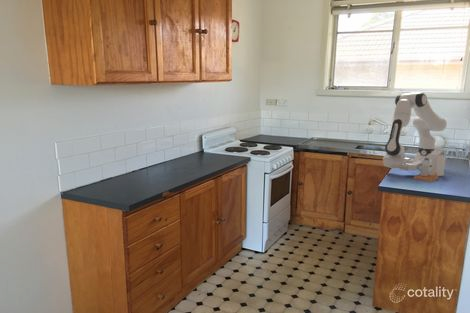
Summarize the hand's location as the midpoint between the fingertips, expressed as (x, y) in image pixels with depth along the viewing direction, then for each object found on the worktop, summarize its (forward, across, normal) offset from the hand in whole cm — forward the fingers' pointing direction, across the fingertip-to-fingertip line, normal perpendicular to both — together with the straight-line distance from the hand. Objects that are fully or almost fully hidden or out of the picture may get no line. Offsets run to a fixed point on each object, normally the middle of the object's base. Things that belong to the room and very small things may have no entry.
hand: (427, 167), depth 260 cm
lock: (-1, 0, +6) cm, 6 cm away
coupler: (0, +1, +8) cm, 8 cm away
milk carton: (+2, +17, +8) cm, 19 cm away
